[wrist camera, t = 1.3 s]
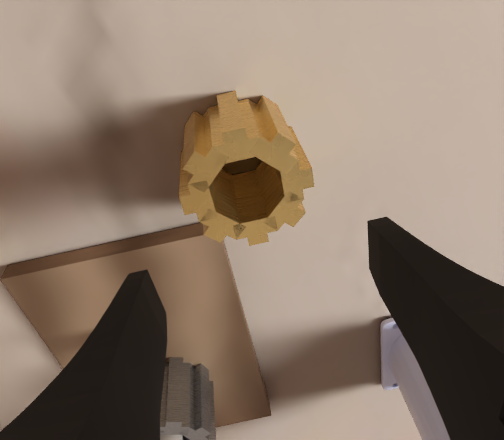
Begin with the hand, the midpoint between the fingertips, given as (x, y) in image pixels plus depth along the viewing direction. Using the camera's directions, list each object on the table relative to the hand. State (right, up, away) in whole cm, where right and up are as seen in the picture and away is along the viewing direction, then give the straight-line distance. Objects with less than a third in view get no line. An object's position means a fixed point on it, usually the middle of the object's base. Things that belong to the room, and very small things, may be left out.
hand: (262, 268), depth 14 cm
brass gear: (-1, +5, +8) cm, 9 cm away
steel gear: (-6, -10, +16) cm, 19 cm away
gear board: (-7, -7, +15) cm, 18 cm away
